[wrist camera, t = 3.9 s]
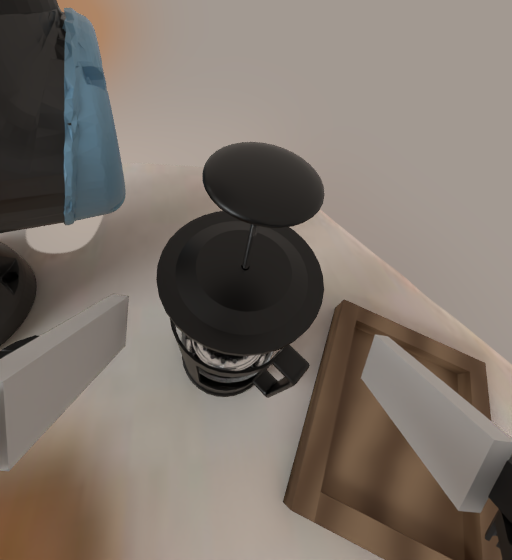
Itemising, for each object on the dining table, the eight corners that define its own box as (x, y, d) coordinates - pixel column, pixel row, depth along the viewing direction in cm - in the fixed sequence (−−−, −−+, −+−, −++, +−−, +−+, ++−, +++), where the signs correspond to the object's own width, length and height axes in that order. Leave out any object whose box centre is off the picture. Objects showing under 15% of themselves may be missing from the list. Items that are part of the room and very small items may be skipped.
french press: (160, 345, 27) (28, 128, 7) (224, 293, 31) (250, 71, 12) (235, 432, 24) (356, 465, 4) (294, 362, 28) (487, 220, 9)
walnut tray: (282, 501, 22) (290, 510, 20) (335, 307, 33) (344, 299, 31) (481, 605, 20) (512, 626, 18) (466, 367, 31) (485, 363, 29)
